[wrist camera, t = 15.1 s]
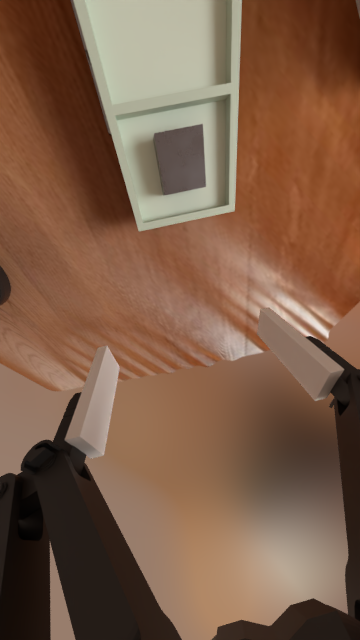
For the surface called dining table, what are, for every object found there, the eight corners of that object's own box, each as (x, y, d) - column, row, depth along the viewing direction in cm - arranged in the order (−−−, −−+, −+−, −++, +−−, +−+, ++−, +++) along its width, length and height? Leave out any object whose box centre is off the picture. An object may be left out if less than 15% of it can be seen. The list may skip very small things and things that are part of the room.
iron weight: (163, 195, 26) (164, 195, 24) (153, 139, 22) (153, 133, 20) (200, 187, 26) (206, 186, 24) (196, 131, 22) (202, 123, 20)
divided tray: (139, 228, 29) (138, 231, 27) (-201, -989, 6) (-416, -1727, 4) (228, 209, 30) (234, 211, 27) (243, -978, 6) (296, -1607, 4)
